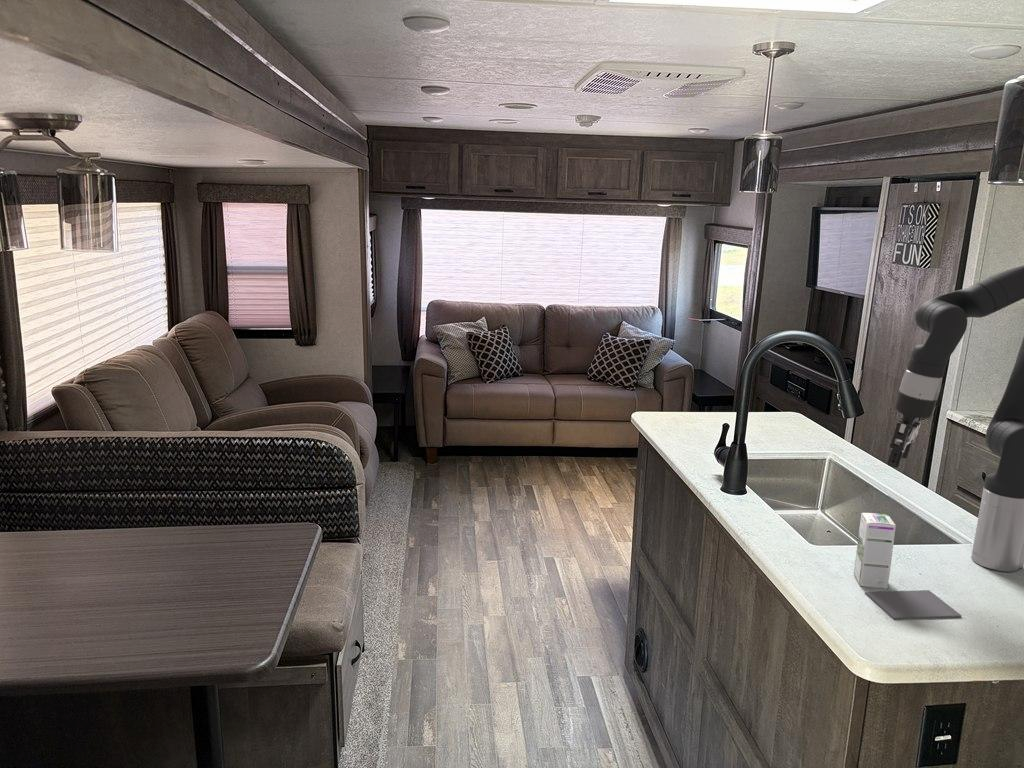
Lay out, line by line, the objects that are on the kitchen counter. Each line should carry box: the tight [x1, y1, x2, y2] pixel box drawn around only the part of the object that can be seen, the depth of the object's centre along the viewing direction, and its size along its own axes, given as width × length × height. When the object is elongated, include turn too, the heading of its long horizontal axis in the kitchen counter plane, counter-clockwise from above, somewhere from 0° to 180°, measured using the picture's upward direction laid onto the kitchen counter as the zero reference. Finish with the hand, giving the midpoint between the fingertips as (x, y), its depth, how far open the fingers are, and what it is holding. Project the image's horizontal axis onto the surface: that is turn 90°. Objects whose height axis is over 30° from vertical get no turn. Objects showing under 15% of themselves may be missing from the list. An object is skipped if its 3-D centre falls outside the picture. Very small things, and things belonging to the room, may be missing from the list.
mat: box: [864, 589, 962, 620], centre depth 152 cm, size 14×10×1 cm
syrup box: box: [853, 512, 897, 590], centre depth 160 cm, size 6×6×14 cm
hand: (897, 461), depth 168 cm, fingers open, 8 cm apart
